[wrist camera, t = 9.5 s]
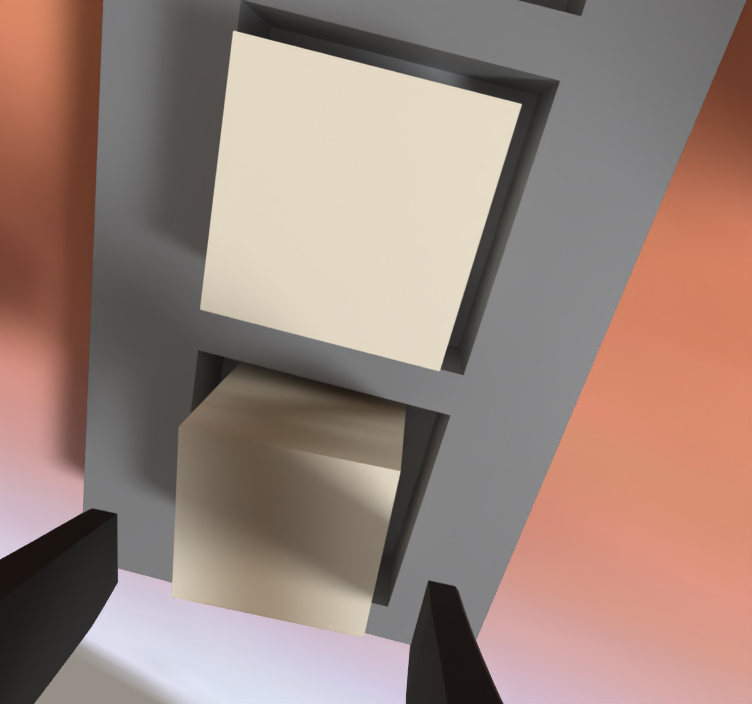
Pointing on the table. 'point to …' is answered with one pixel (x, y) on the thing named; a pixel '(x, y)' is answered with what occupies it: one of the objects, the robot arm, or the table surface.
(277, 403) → the loose block
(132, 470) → the puzzle board
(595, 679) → the table surface
